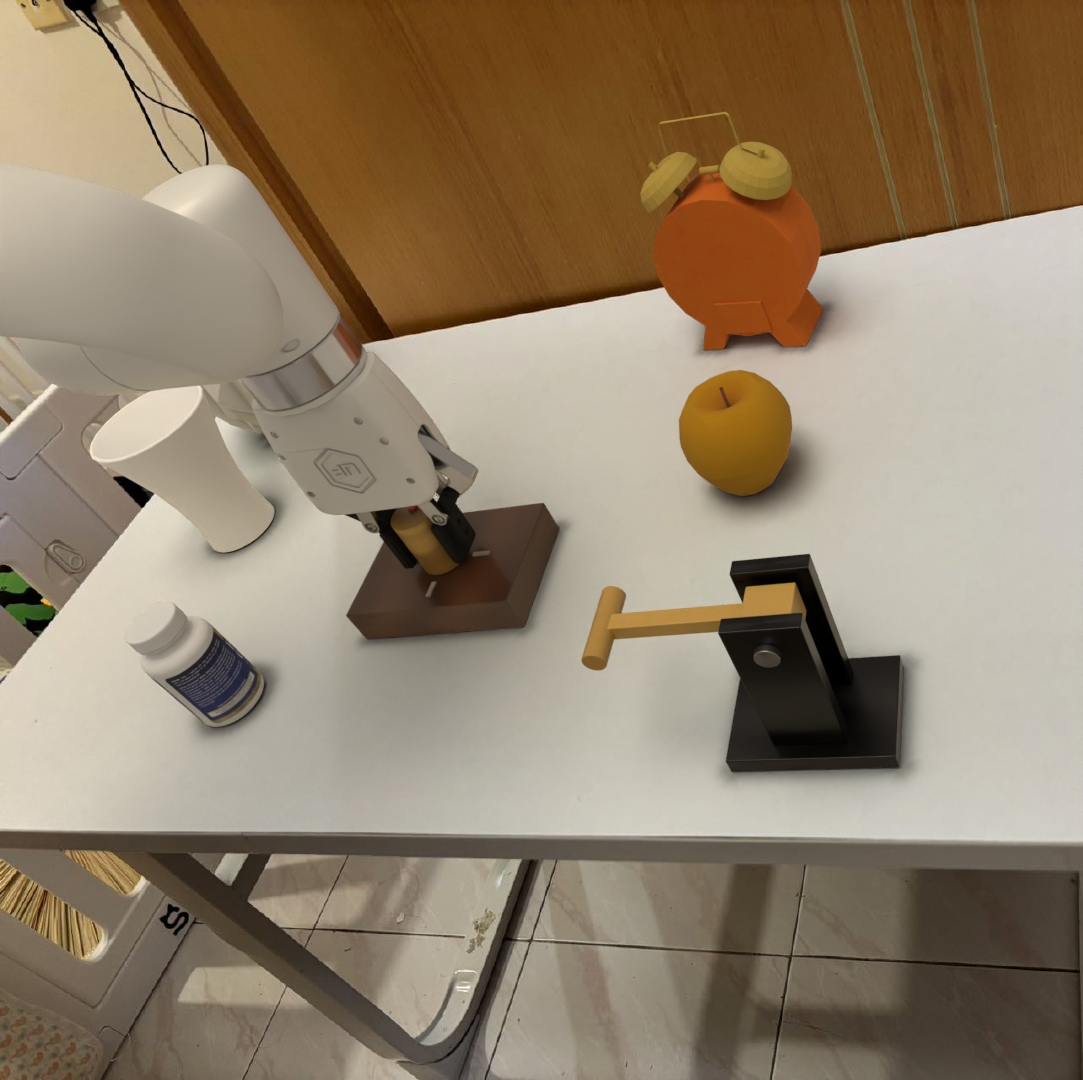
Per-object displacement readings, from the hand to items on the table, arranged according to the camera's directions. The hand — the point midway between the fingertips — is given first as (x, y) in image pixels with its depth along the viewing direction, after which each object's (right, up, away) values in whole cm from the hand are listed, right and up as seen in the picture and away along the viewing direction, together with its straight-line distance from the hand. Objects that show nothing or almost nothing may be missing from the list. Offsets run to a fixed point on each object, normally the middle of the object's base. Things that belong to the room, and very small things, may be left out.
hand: (440, 550), depth 77 cm
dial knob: (0, -1, +1) cm, 1 cm away
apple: (+24, +5, +1) cm, 25 cm away
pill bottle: (-16, -12, +2) cm, 20 cm away
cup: (-24, +2, +18) cm, 30 cm away
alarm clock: (+25, +20, +14) cm, 35 cm away
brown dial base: (+1, -3, +3) cm, 4 cm away
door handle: (+20, -4, -21) cm, 29 cm away
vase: (-23, +14, +30) cm, 41 cm away
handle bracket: (+27, -10, -17) cm, 33 cm away
